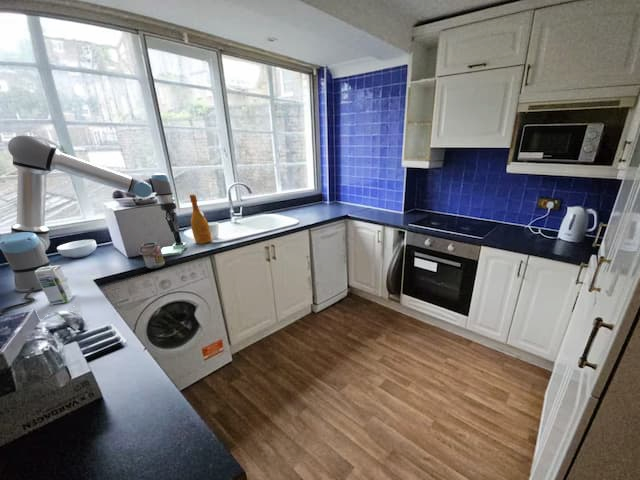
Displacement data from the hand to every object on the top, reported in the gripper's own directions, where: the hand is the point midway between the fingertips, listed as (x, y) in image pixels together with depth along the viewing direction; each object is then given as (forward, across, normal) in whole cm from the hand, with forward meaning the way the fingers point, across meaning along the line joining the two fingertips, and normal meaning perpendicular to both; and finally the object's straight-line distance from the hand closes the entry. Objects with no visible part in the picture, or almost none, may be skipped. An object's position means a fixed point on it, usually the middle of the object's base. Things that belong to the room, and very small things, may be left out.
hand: (178, 242), depth 175 cm
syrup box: (+4, -56, +31) cm, 64 cm away
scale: (+4, -4, +4) cm, 7 cm away
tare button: (+2, 0, 0) cm, 2 cm away
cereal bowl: (+4, +8, +54) cm, 54 cm away
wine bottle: (+5, +10, -11) cm, 16 cm away
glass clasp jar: (+4, -27, +6) cm, 28 cm away
